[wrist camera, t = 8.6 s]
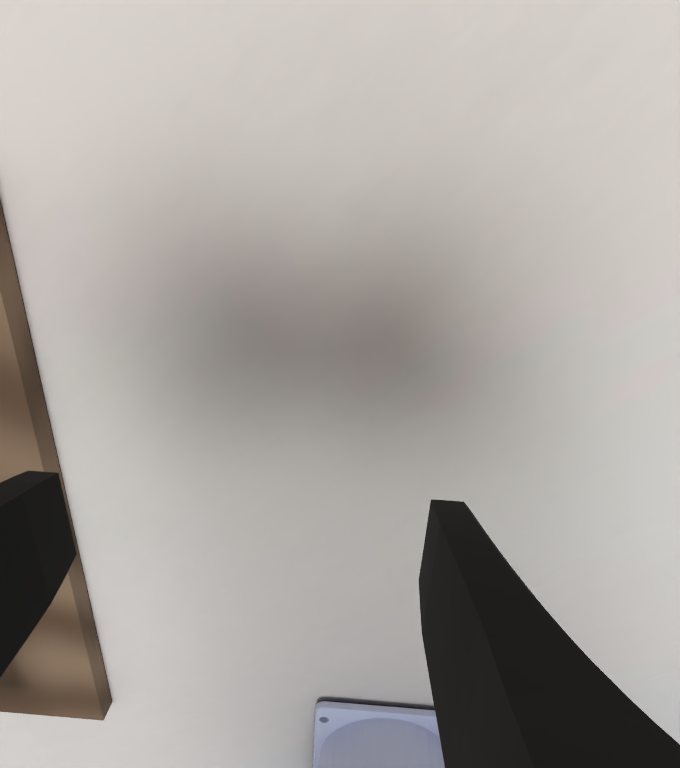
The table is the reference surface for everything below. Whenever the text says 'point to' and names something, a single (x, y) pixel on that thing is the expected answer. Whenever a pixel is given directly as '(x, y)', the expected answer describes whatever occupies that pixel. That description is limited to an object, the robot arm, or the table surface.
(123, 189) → the table surface
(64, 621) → the board
